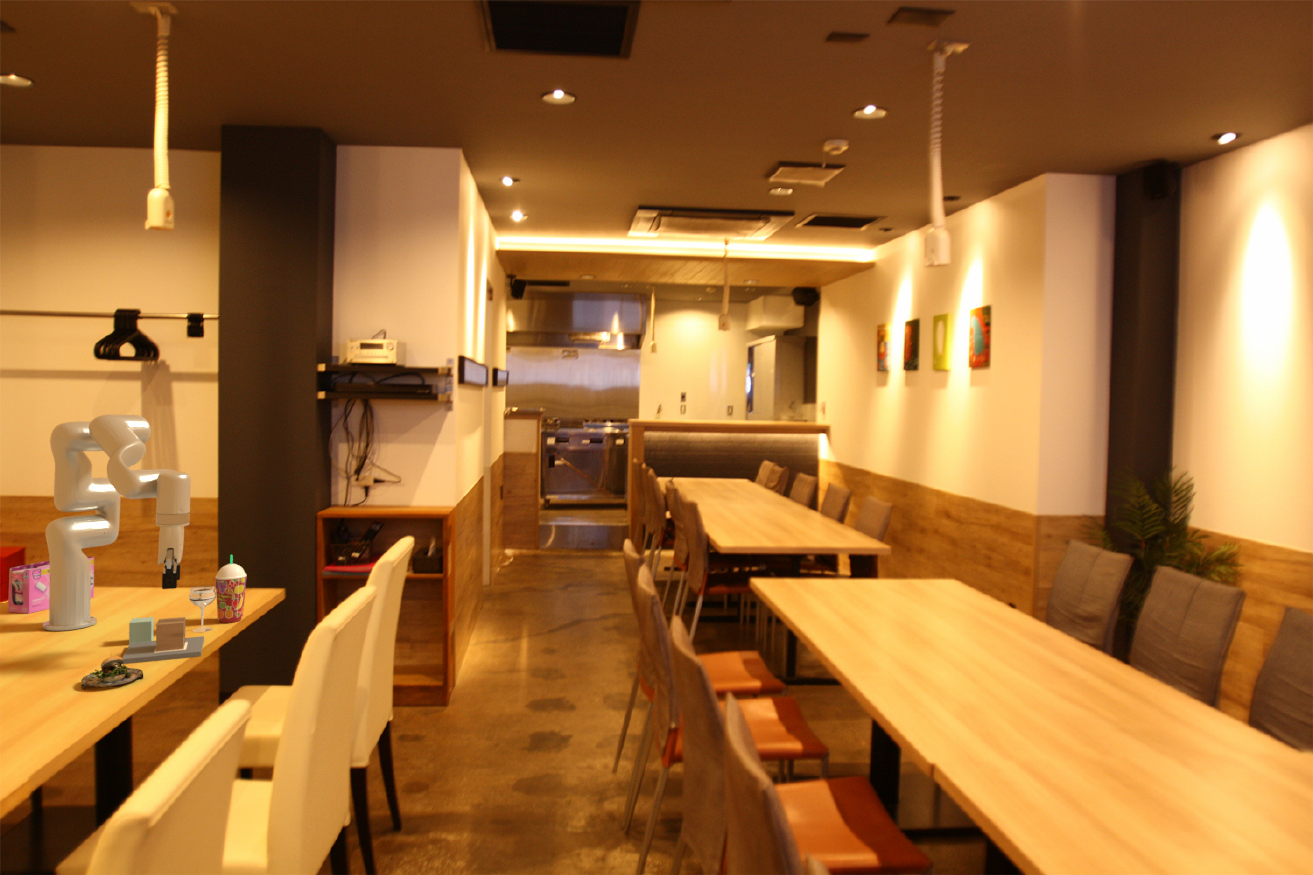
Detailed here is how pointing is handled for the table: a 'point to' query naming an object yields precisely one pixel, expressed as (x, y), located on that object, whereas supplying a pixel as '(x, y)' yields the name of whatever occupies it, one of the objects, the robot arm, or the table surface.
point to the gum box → (33, 587)
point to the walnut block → (170, 634)
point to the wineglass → (202, 601)
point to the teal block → (141, 629)
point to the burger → (111, 674)
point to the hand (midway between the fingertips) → (171, 584)
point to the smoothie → (230, 592)
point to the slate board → (148, 651)
